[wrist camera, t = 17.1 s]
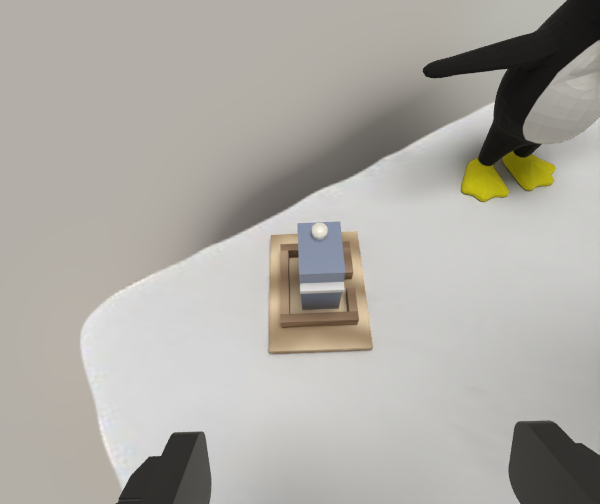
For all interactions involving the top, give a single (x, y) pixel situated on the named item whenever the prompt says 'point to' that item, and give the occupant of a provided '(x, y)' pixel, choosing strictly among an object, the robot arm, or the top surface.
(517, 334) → the top surface
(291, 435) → the top surface
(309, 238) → the servo block
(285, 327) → the wooden fixture board
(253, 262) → the top surface
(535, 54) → the toy
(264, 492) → the top surface
